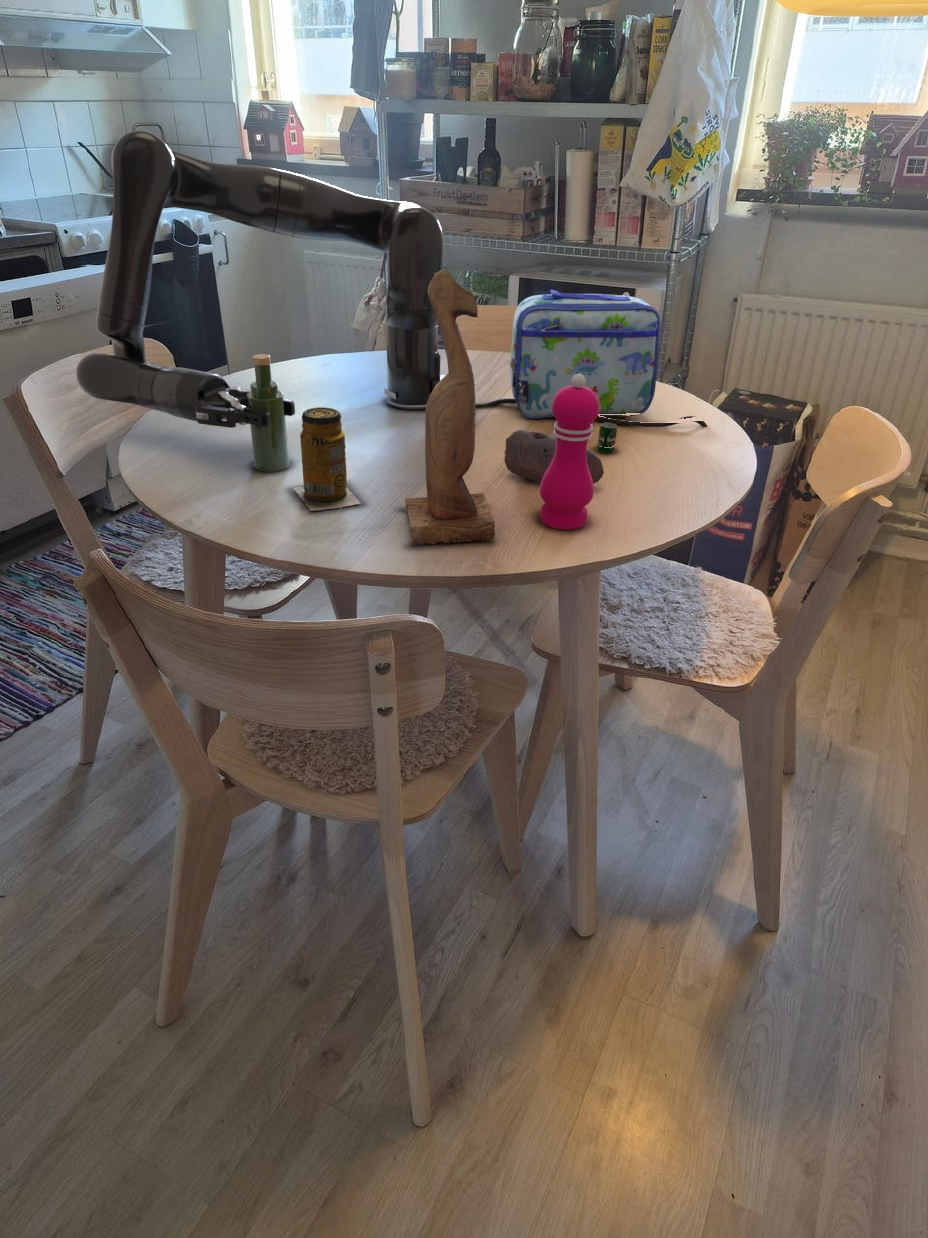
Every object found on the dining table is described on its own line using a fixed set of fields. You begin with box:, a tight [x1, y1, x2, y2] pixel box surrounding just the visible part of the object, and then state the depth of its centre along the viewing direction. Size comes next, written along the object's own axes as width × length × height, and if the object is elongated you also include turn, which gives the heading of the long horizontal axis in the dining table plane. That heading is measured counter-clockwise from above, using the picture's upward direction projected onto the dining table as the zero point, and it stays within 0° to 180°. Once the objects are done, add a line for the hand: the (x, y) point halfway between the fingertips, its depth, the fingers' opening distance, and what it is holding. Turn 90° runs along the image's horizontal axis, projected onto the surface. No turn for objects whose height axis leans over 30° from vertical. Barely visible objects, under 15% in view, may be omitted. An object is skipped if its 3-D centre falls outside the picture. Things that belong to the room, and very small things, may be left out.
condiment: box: [293, 406, 361, 512], centre depth 113 cm, size 7×8×12 cm
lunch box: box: [509, 289, 662, 419], centre depth 146 cm, size 26×11×21 cm, turn 92°
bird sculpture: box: [404, 268, 496, 547], centre depth 101 cm, size 11×12×32 cm
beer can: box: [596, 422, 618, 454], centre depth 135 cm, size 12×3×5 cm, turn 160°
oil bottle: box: [247, 353, 290, 473], centre depth 121 cm, size 5×5×16 cm
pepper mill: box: [539, 374, 599, 531], centre depth 107 cm, size 7×7×20 cm
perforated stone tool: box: [503, 429, 605, 485], centre depth 122 cm, size 15×5×7 cm, turn 66°
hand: (281, 414), depth 120 cm, fingers closed on oil bottle, 5 cm apart
